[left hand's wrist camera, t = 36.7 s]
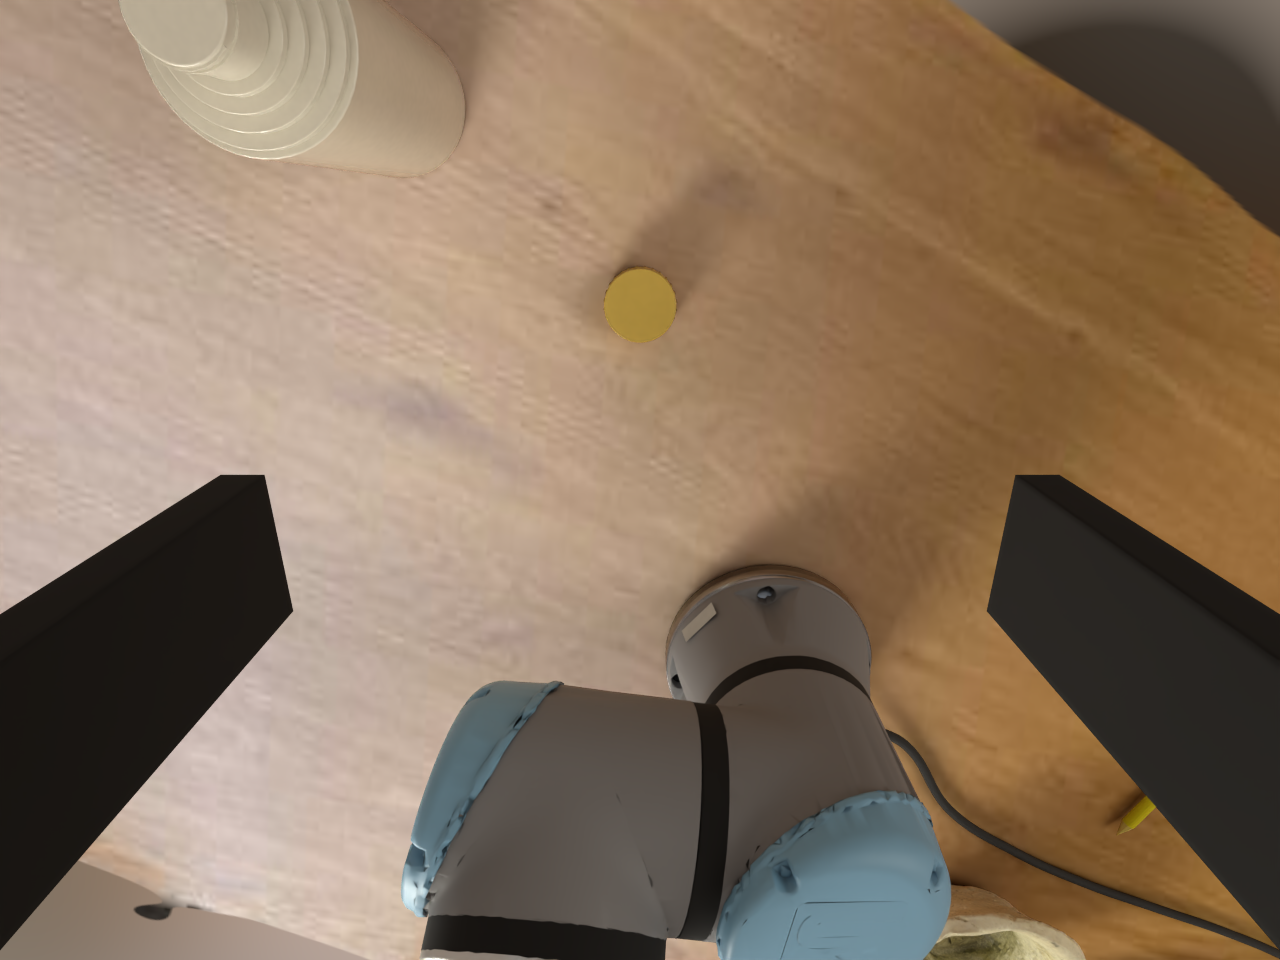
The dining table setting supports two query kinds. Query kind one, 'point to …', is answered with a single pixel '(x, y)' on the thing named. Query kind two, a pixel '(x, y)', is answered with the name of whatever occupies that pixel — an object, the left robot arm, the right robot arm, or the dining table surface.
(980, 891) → the bowl
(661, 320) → the cap
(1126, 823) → the pencil
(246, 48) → the bottle
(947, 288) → the dining table surface
